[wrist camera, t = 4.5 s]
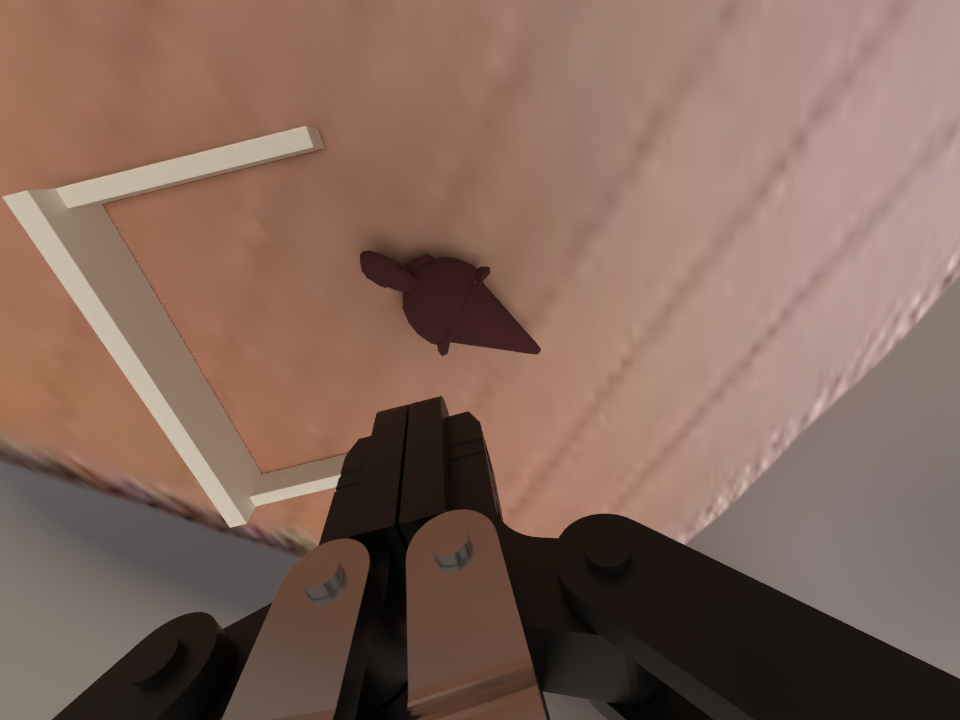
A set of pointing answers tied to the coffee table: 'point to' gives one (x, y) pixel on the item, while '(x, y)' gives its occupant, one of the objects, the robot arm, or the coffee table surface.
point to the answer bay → (164, 318)
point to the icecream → (449, 302)
